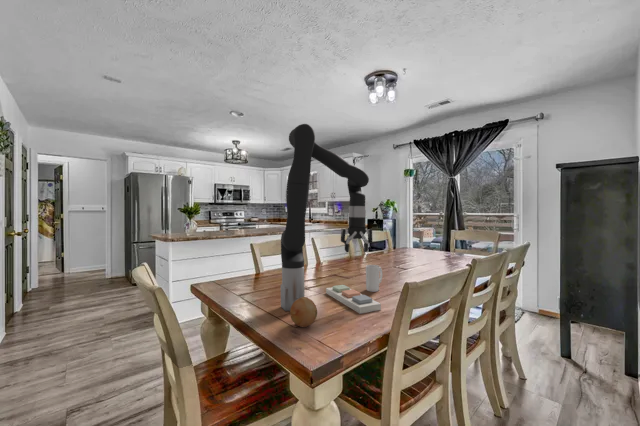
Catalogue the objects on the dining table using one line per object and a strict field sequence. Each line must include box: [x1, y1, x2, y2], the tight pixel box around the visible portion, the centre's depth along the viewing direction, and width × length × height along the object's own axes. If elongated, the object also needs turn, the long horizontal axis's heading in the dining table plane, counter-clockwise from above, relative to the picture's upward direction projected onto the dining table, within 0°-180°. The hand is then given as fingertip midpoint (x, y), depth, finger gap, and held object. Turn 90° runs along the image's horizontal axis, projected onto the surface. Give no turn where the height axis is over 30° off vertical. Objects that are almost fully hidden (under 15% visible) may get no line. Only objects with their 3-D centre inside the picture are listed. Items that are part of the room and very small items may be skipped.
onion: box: [289, 296, 318, 328], centre depth 104 cm, size 10×10×10 cm
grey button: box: [352, 294, 373, 305], centre depth 123 cm, size 6×6×2 cm
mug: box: [365, 264, 383, 293], centre depth 148 cm, size 10×7×12 cm, turn 122°
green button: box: [332, 284, 351, 293], centre depth 139 cm, size 6×6×2 cm
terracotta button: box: [342, 288, 361, 298], centre depth 131 cm, size 6×6×2 cm
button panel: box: [325, 286, 382, 315], centre depth 131 cm, size 10×30×2 cm, turn 25°
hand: (356, 252), depth 133 cm, fingers open, 8 cm apart
